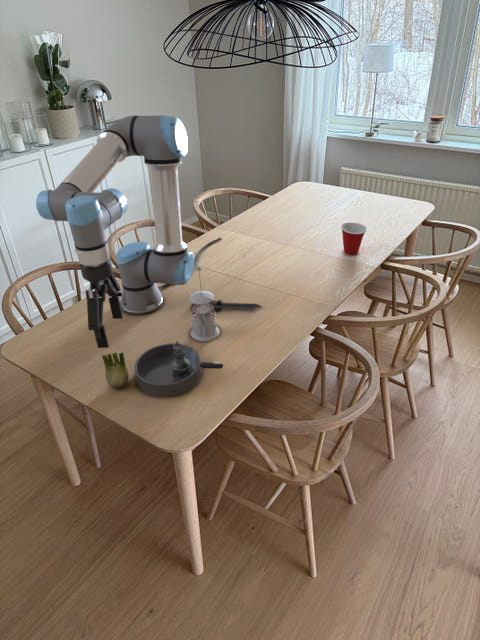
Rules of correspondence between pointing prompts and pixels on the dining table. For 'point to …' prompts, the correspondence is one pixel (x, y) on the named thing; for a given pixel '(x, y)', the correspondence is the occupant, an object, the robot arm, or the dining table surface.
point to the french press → (203, 315)
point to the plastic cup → (352, 237)
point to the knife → (232, 305)
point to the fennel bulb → (115, 369)
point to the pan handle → (211, 365)
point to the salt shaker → (180, 362)
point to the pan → (165, 371)
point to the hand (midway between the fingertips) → (111, 331)
